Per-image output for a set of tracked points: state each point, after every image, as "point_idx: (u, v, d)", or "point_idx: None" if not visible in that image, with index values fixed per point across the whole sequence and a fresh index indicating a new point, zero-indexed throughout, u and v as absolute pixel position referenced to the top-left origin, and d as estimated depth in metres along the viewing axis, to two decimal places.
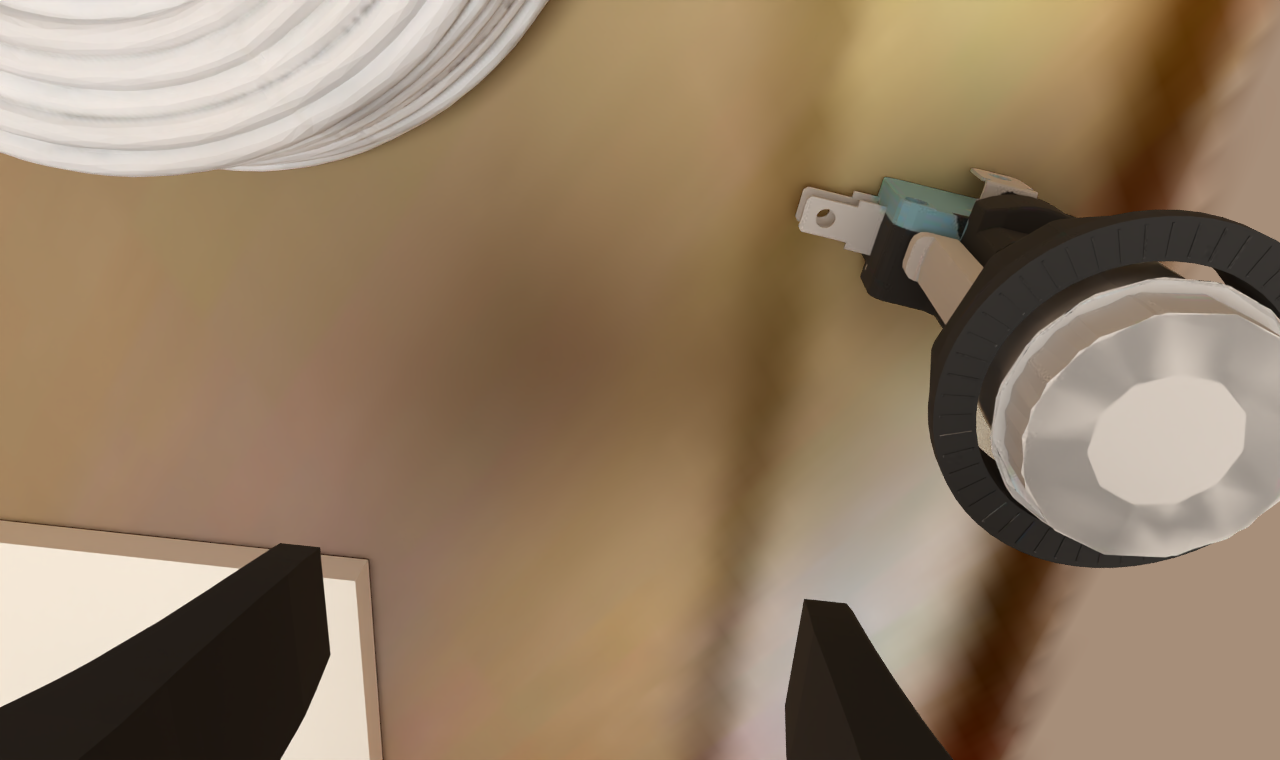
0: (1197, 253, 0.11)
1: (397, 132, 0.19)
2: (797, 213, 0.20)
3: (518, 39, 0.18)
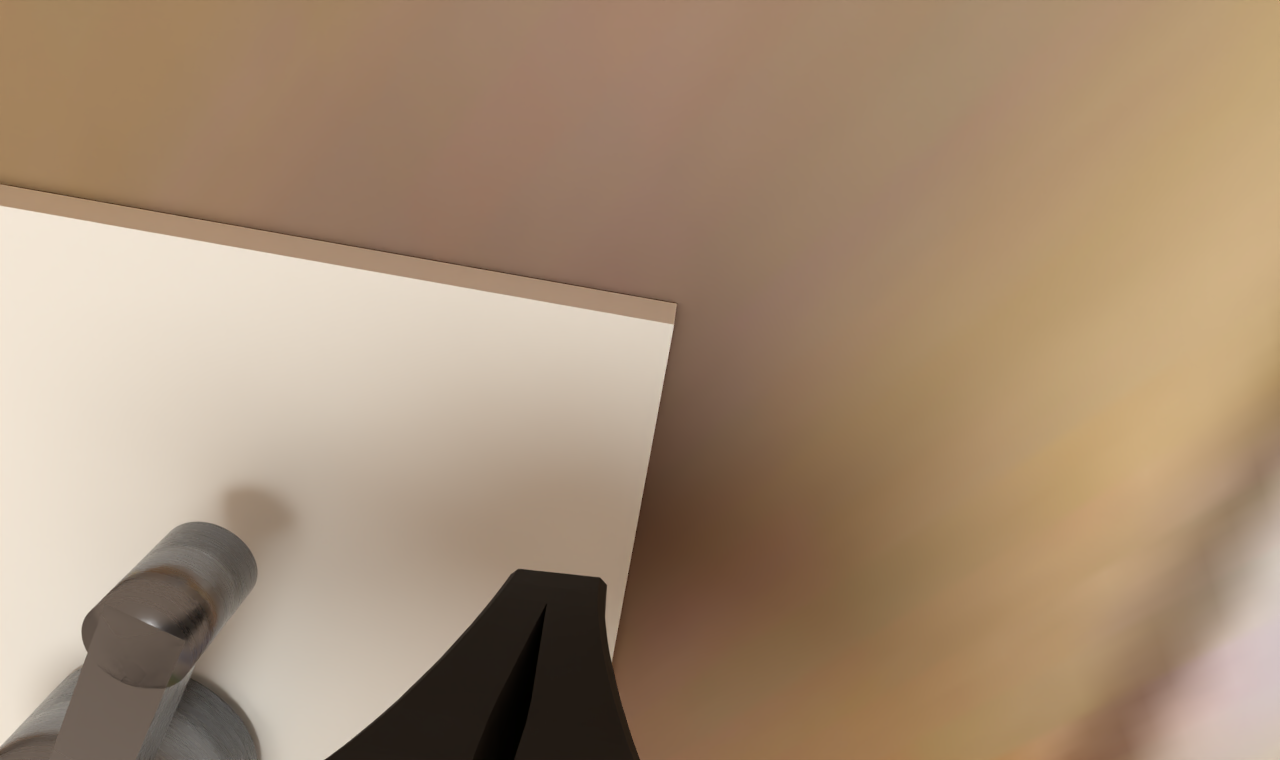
0: None
1: None
2: None
3: None
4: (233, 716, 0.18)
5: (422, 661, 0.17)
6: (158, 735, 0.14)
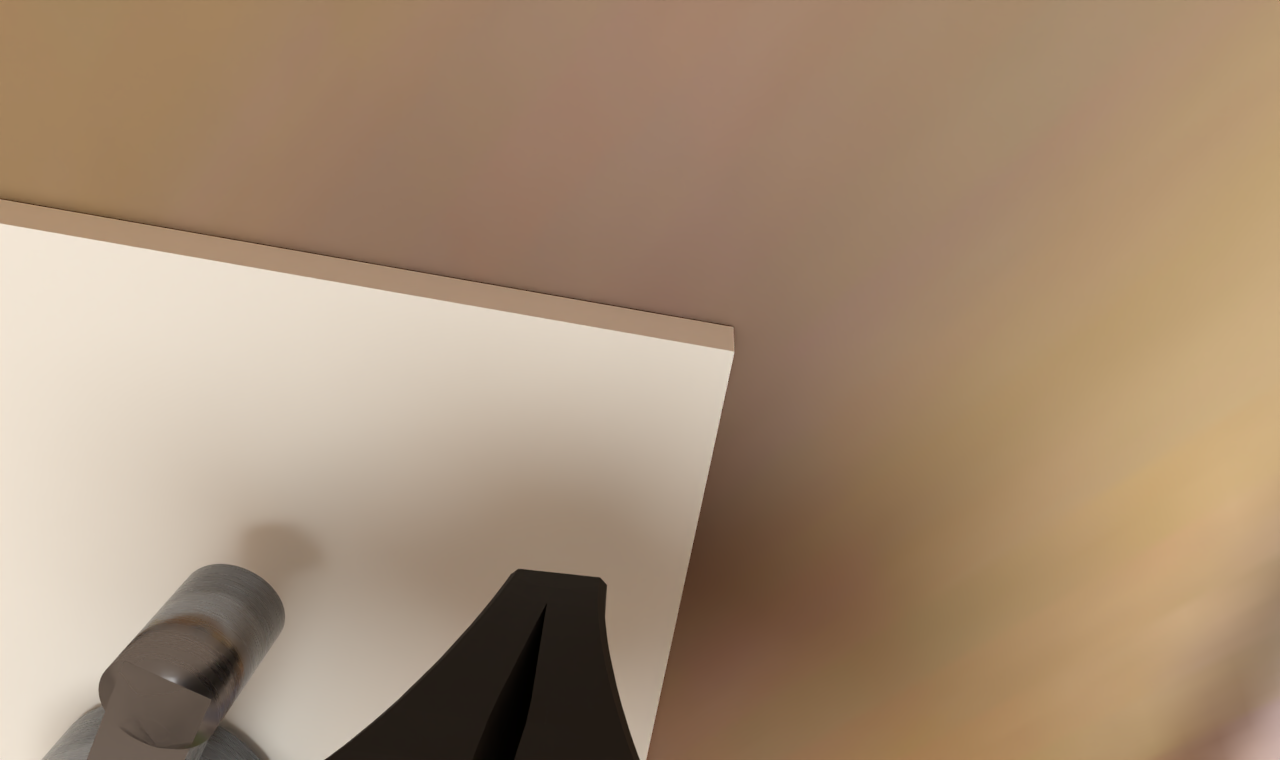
0: None
1: None
2: None
3: None
4: None
5: None
6: None
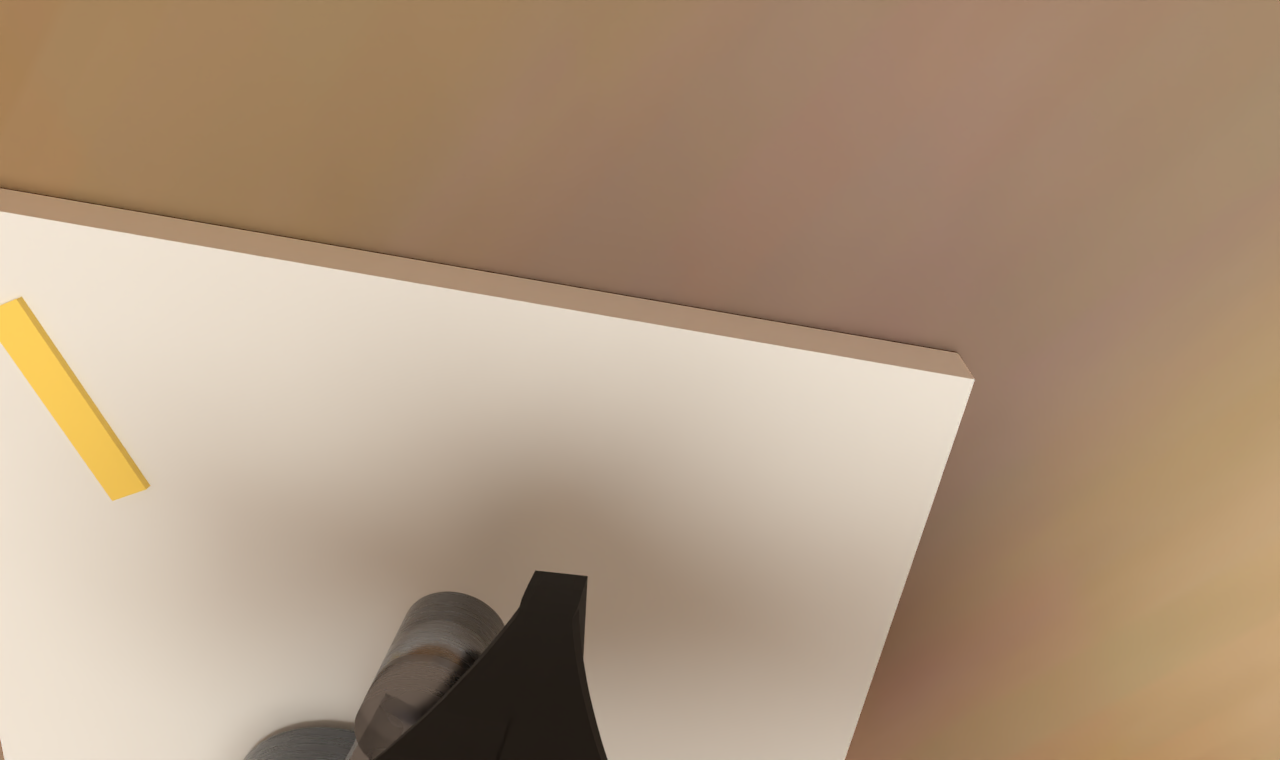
0: None
1: None
2: None
3: None
4: None
5: (647, 728, 0.16)
6: None
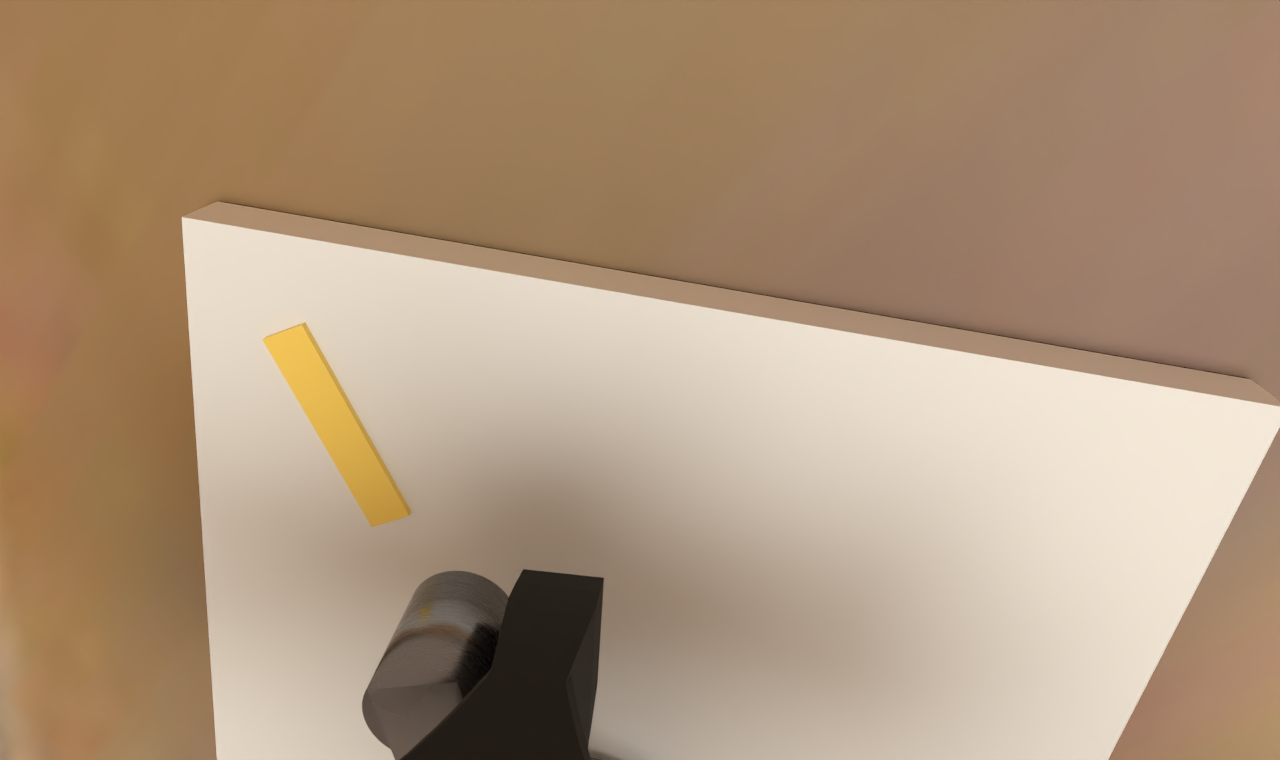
0: None
1: None
2: None
3: None
4: None
5: (892, 755, 0.16)
6: None
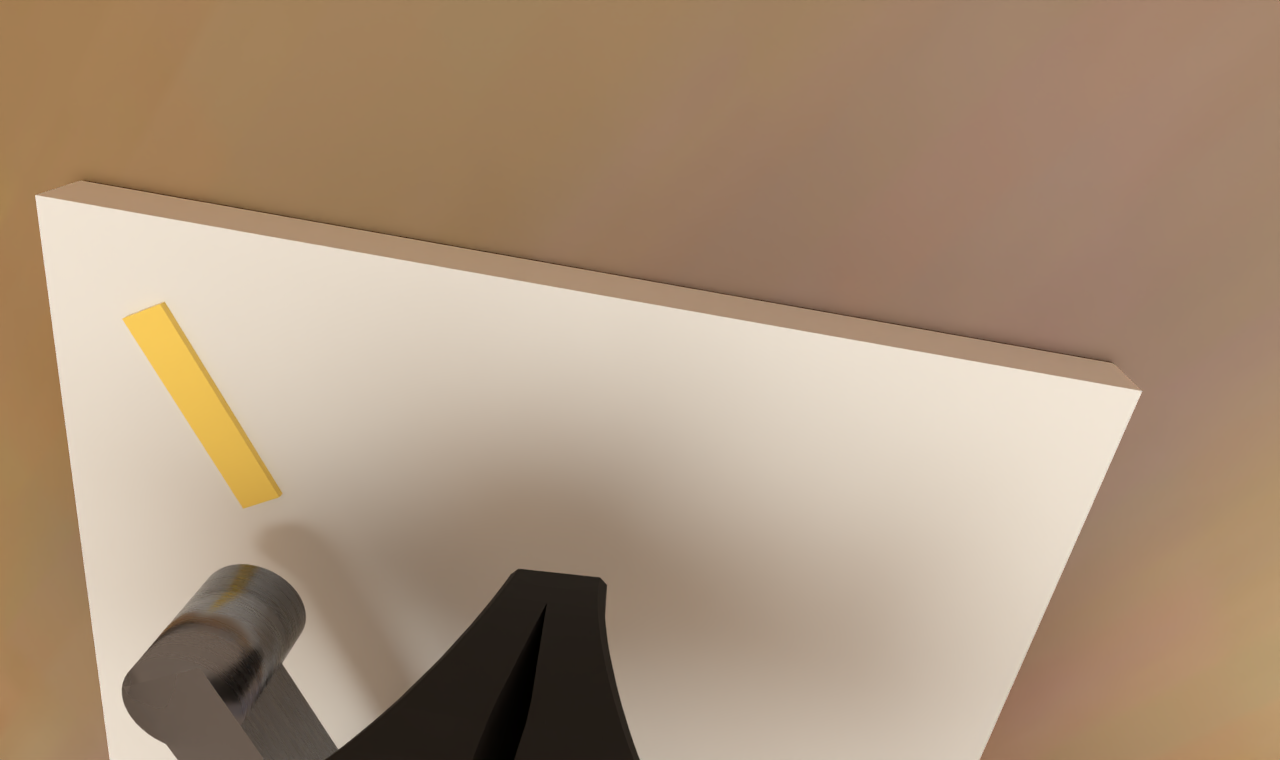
0: None
1: None
2: None
3: None
4: None
5: (773, 739, 0.16)
6: None
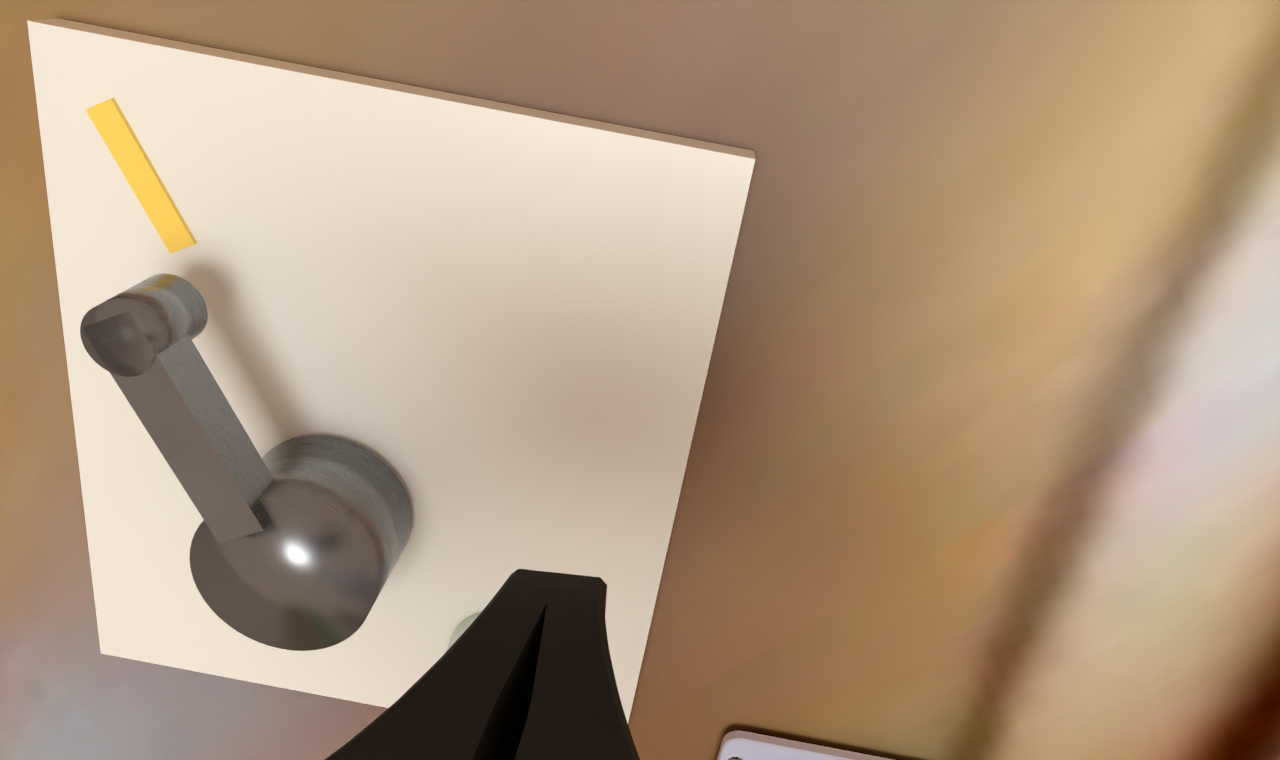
0: None
1: None
2: None
3: None
4: (338, 439, 0.23)
5: (547, 435, 0.22)
6: (226, 423, 0.20)
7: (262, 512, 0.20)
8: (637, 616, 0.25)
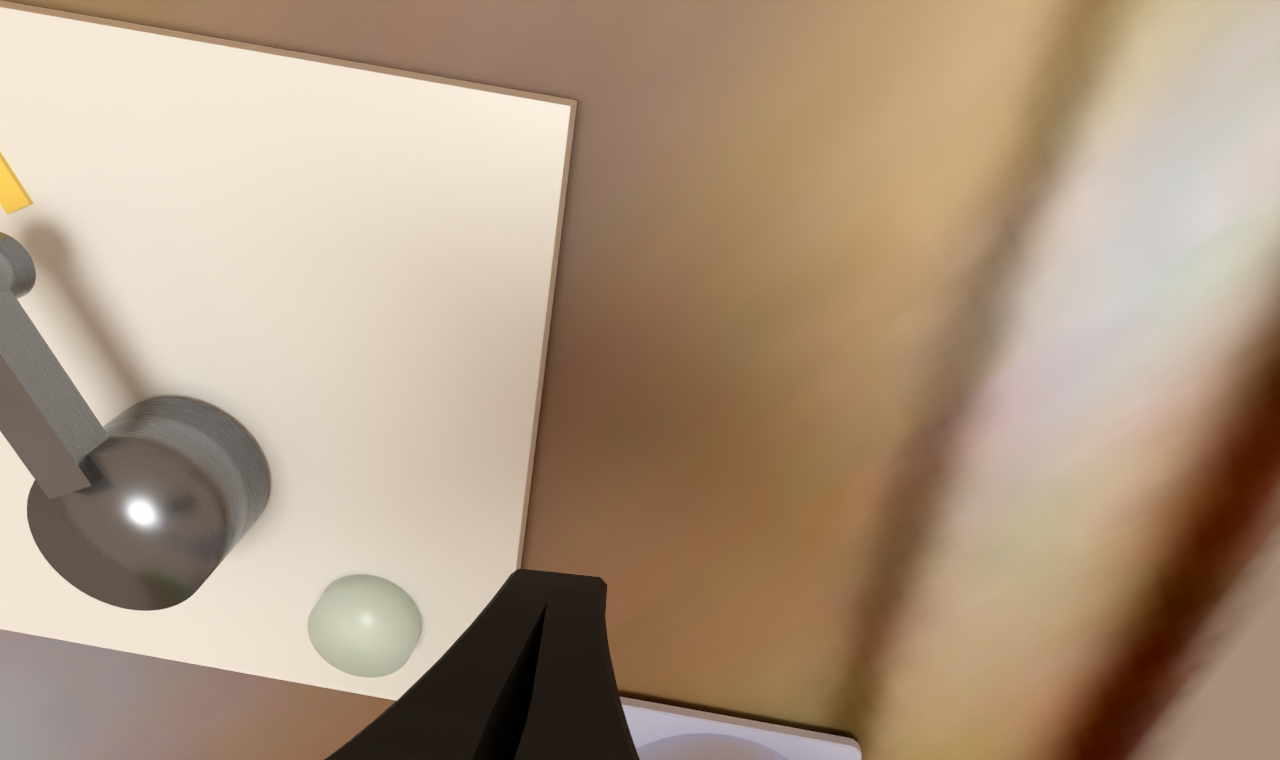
0: None
1: None
2: None
3: None
4: (187, 401, 0.23)
5: (394, 393, 0.22)
6: (52, 378, 0.20)
7: (91, 468, 0.20)
8: (499, 578, 0.25)
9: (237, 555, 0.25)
